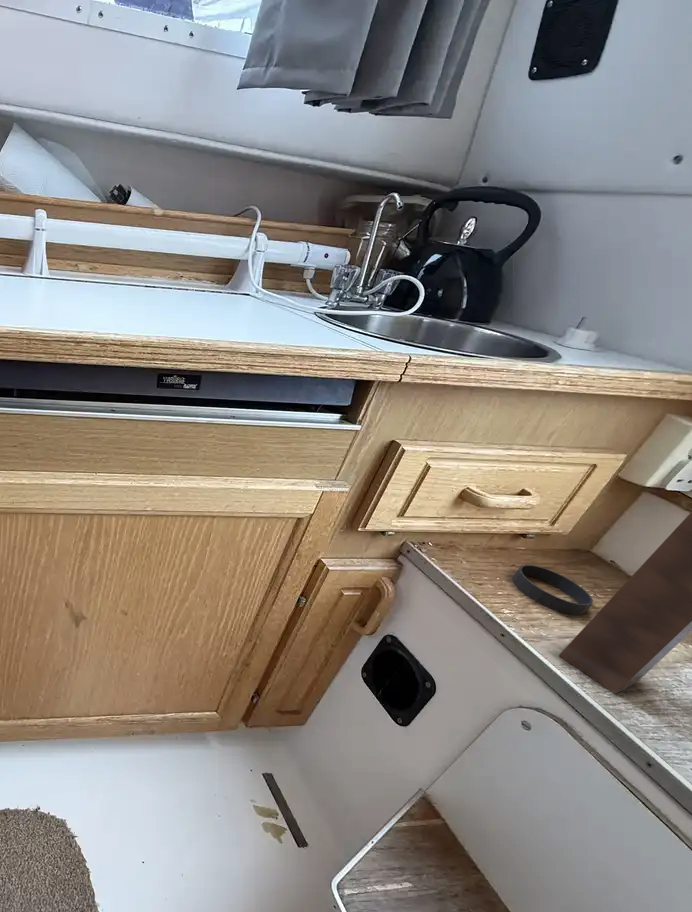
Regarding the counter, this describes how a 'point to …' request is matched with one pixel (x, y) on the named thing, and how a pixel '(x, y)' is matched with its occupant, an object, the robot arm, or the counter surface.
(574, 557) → the counter surface
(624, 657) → the stand
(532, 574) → the ring
